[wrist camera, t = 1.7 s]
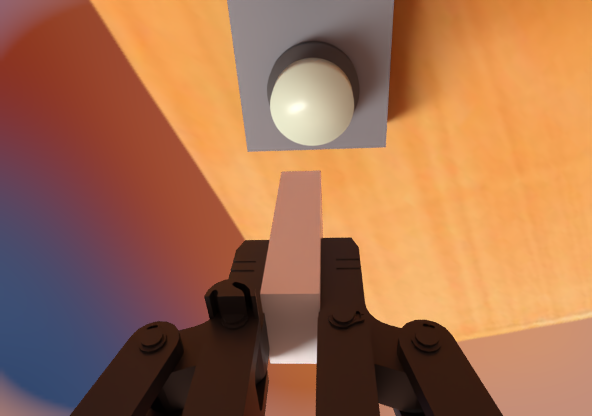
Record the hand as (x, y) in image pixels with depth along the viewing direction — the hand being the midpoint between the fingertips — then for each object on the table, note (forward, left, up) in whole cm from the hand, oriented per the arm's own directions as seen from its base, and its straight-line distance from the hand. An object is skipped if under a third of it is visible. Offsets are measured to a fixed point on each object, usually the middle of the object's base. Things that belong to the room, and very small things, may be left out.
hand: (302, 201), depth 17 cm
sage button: (0, 0, -12) cm, 12 cm away
